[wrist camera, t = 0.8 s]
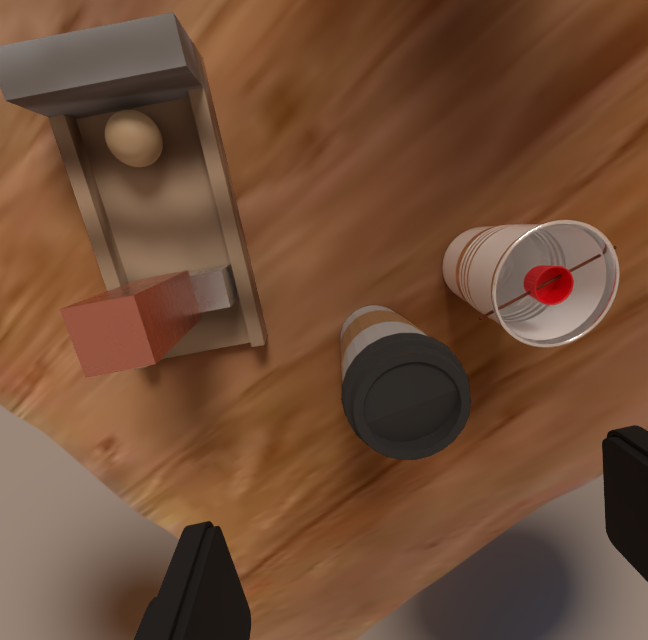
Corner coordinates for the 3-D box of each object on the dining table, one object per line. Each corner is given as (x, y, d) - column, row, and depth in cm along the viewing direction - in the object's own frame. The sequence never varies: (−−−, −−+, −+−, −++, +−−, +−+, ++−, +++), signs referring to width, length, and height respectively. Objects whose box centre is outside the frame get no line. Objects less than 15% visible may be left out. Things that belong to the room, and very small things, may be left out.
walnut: (112, 122, 31) (85, 108, 27) (161, 112, 31) (141, 97, 27) (128, 174, 32) (104, 168, 29) (175, 164, 32) (158, 157, 28)
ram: (128, 277, 34) (13, 318, 21) (229, 258, 34) (179, 286, 21) (142, 320, 35) (41, 385, 22) (239, 302, 35) (199, 355, 22)
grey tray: (56, 85, 32) (-14, 48, 25) (202, 57, 31) (173, 12, 25) (146, 358, 38) (110, 390, 31) (267, 335, 38) (259, 362, 31)
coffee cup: (424, 357, 39) (494, 440, 25) (347, 386, 40) (371, 485, 25) (398, 280, 37) (458, 322, 23) (316, 312, 37) (324, 373, 23)
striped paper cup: (448, 326, 38) (510, 374, 27) (412, 250, 36) (461, 267, 25) (541, 277, 38) (646, 304, 26) (509, 196, 35) (608, 187, 24)
